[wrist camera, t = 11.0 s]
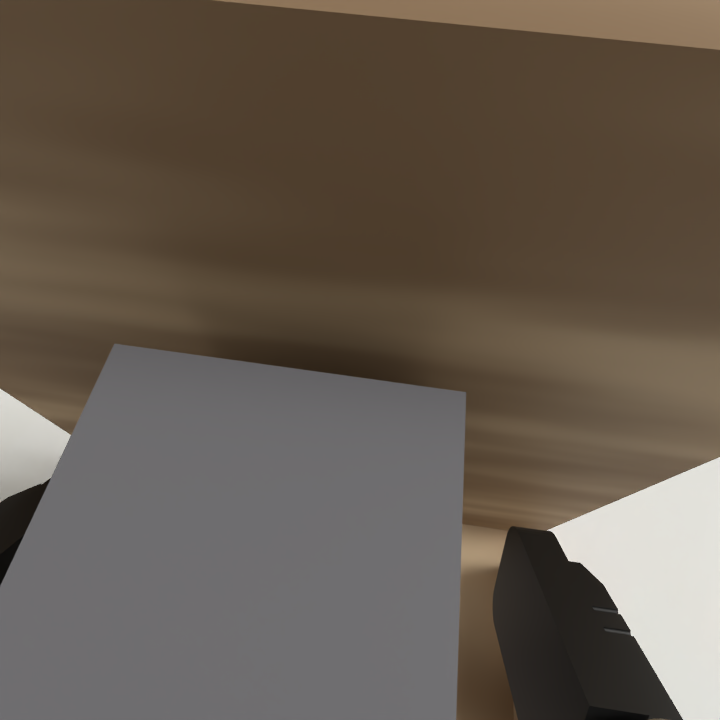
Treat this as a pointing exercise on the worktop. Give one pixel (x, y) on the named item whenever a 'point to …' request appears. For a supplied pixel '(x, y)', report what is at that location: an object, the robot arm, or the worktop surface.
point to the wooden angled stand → (385, 227)
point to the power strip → (241, 550)
